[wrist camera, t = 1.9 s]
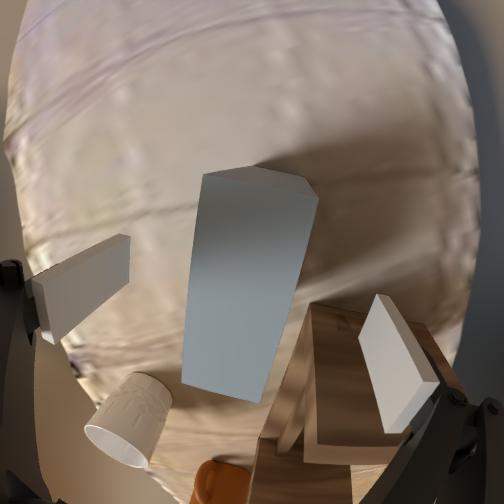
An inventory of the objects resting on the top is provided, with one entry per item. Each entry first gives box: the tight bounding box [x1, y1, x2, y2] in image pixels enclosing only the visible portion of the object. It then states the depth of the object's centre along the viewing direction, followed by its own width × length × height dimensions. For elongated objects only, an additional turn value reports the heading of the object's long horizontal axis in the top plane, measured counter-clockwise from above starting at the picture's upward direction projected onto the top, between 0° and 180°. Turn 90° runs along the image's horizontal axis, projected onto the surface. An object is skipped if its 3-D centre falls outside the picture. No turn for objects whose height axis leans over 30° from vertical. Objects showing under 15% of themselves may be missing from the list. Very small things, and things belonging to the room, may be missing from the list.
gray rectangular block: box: [181, 166, 319, 403], centre depth 17 cm, size 10×4×12 cm, turn 169°
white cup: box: [84, 372, 173, 468], centre depth 26 cm, size 8×8×10 cm
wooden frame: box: [246, 303, 471, 504], centre depth 20 cm, size 22×12×14 cm, turn 169°
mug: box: [189, 460, 252, 504], centre depth 31 cm, size 9×12×9 cm
